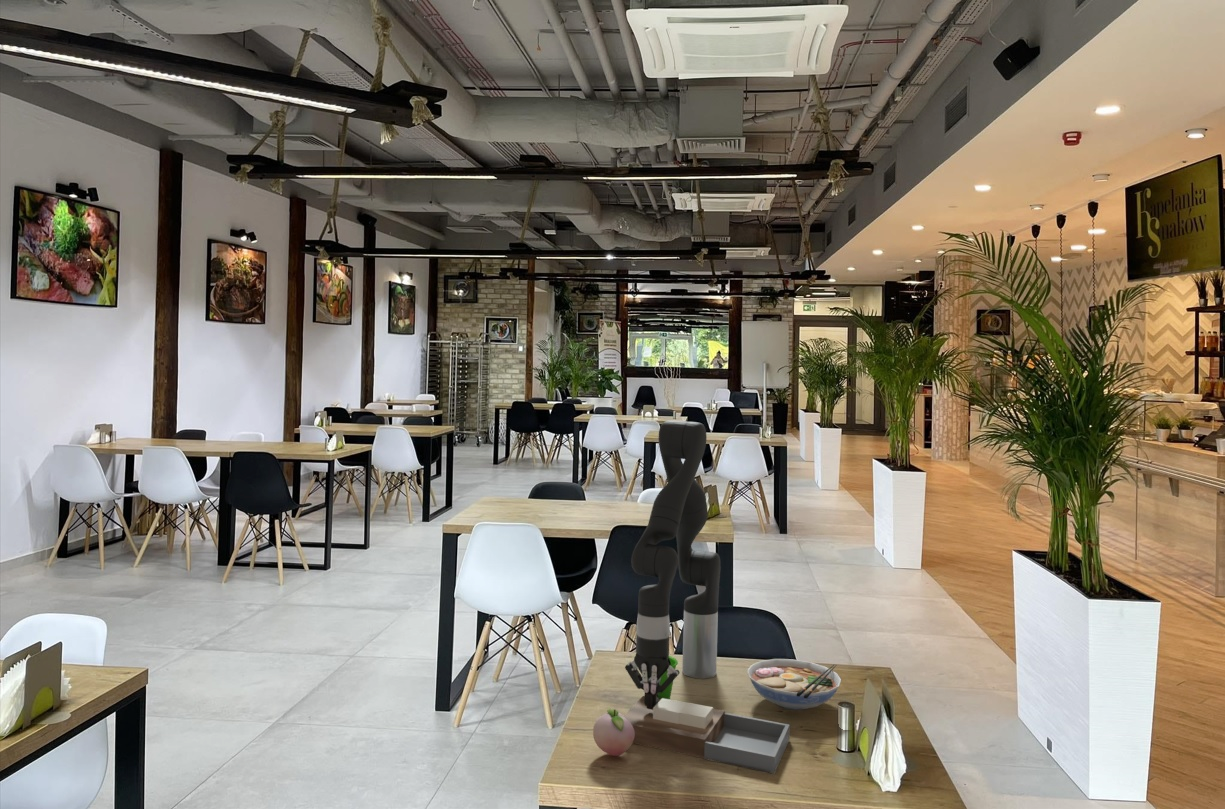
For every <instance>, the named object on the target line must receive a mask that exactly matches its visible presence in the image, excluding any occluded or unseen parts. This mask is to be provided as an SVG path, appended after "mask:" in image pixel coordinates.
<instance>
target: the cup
mask: <svg viewBox="0 0 1225 809" xmlns="http://www.w3.org/2000/svg"><path fill="white" fill-rule="evenodd" d="M669 659H670V662H671V666H672V667H673V668H674V669H675V670H676V669H677V667H676V666H677V665H678V660H677V659H676V658H675V657H673V656H670V655H669ZM667 673H668V670H667V671H666V672H665V673H664V674H663V675H662V676H661V680H660V685H662V684H663V683H664V682H665V681H666V680H667V678H668V677H667ZM673 684H674V680H673V681H672V682H671V684H670V685H669V686H668V687H667V688H666V689H665V690H664V691H663V692H662V693H660V692H659V693H658V699H662V698H664V699H670V700H671V694H672V689H673Z"/></svg>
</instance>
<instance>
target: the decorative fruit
mask: <svg viewBox="0 0 1225 809" xmlns="http://www.w3.org/2000/svg"><path fill="white" fill-rule="evenodd" d="M592 730H593V731H592V734H593V737H592V738H593V739H594V743H595V744H596V746H597V747H598V748H599V749H600V750H602V751H603V752H605V753H606V754H608V755H610V756H612V757H617V756H620V755H623V754H624V753H626V752H627V751H628V750H629V749H630V748H631V746H632V744H634V743H633V740H634V737H635V732H634V728H633V726H632V724H631V723H630V721H629V720H627V719H626V718H625V717H624V714H622V713H620V712H619V711H618V710H617V709H615V708H609V709H607V710H606V713H604V714H603V715H600V716H599V717H598V718H597V719H596V721H595V722H594V724H593V728H592Z"/></svg>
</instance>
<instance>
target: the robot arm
mask: <svg viewBox="0 0 1225 809" xmlns="http://www.w3.org/2000/svg"><path fill="white" fill-rule="evenodd" d="M707 437H708V436H707V430H706V427H705V426H704V424H703V423H701V422H697V421H685V420H684V421H683V420H665V421H664V422H662V423H661V425H660V426H659V431H658V446H659V453H660V456H661V460H662V465H663V467H664V471H665V476H666V480H667V481H666V482H667V483H666V484H665V485H664V486H663V488H662V489H661V490H660V491H659V492H658V494H657V495H656V497H655V499H654V501H653V505H652V509H651V512H650V516H649V520H648V523H647V525H646V528H645V529H644V531H643V533H642V535H641V536H640V539H639V540H638V542H637V543H636V545H635V547H634V549H633V550H632V554H631V557H630V558H631V559H630V564H631V567H632V570H633V571H634V573H636V574H638V575H641V576H648V577H653V578H658V582H657V584H648V585H645V586H641V587H640V588H639V590H638V599H637V600H638V601H637V602H638V606H637V607H638V608H637V609H638V610H637V620H636V627H635V631H636V638H635V639H636V640H635V641H636V642H635V656H634V657H633V660H632V661H629V662H628V663H627V664H626V665H625V666H624V667H625V668H624V669H625V670H626V672H627V673H628V675H629V677H630V679H631V680H632V682H633V683H634V685H635V686H636V688H637V689H641V690H643V692H644V696H645V700H644V703H645V706H647V709H652V710H653V707H654V706H655V705H656V704H657V703H658V693H659V692H660V693H662V692H663V691H664V690H665V689H666V688H667V687H668V686H669V685H670V684H671V682H672V681H673V682H674V681H675V680H676V678H678V676H679V675H680V671H679V669H676V668H675V669H674V668H673V667H672V666H671V662H670V659H669V656H670V637H671V636H670V634H671V633H670V632H671V630H670V629H671V622H670V596H671V592H672V587H673V583H674V580H675V576H676V574H677V571H678V572H679V573H678V574H679V577H680V580H681V581H682V583H684V584H686V585H690V586H691V585H693V586H701V587H705V590H704V591H703V592H701V593H697V594H693V595H690V596H687V597H686V598H685V599H684V602H683V635H682V636H683V637H682V667H681V668H682V674H683V675H685V676H687V677H689V678H694V679H711V678H713V677H716V675H717V666H718V664H717V659H718V658H717V657H718V628H719V627H718V624H719V623H718V620H719V619H718V618H719V617H718V616H719V597H720V595H719V594H720V579H721V568H722V567H721V558H720V555H719V554H718V553H717V552H713V551H704V550H703V551H702V550H694V549H693V548H692V544H693V543H694V540H695V539H696V537H697V536H698V535H699V533H700V532H701V531H702V529H703V528H704V527H705V525H706V523H707V520H708V517H709V513H708V512H709V511H708V504H707V497H706V496H707V495H706V493H705V491H704V489H703V488H702V486H701V485H700V484H699V482H698V481H697V480H696V479H695V477H696V475H697V472H698V470H699V467H700V465H701V462H702V460H703V457H704V454H705V450H706V448H707V447H706V446H707ZM682 460H684V461H682ZM675 538H676V544H677V545H676V548H677V551H676V549H675V548H673V547H671V546H666V545H658V544H659V543H660V542H663V541H670V540H673V539H675ZM667 670H668V673H667V677H668V678H667V680H666V681H665V682H664V683H663V684H662V685H660V680H661V676H662V675H663V674H664V673H665V672H666V671H667Z"/></svg>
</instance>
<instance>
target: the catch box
mask: <svg viewBox="0 0 1225 809" xmlns="http://www.w3.org/2000/svg"><path fill="white" fill-rule="evenodd" d="M790 727H791V725H790V724H788V723H782V722H777V721H771V720H767V719H761V718H756V717H751V716H747V715H746V716H744V715H739V714H734V713H729V712H725V713H724V727H723V729H722V730H721V732H720V733H719V735H718V736H717V738H716V739H715V741H714V742H708V741H705V750H704V758H703V759H704V760H707V761H712V762H716V763H721V764H727V765H732V766H736V767H741V768H746V769H751V770H756V771H759V772H764V773H768V774H769V773H770V774H774V775H775V773H776V771H777V769H778V768H779V764H780V762H781V760H782V757H783V755H784V753H785V751H786V748H787V746H788V743H789V741H790Z"/></svg>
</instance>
